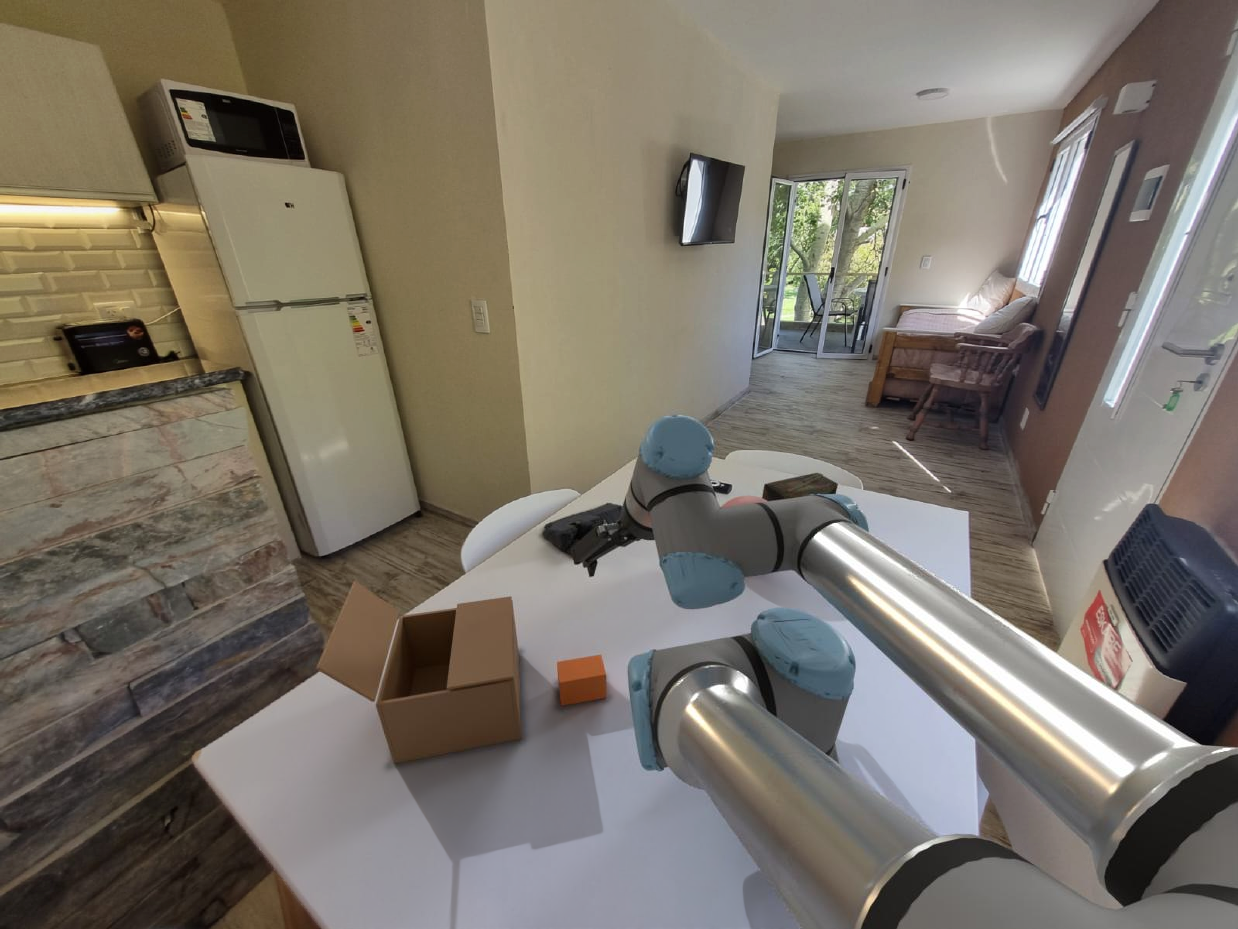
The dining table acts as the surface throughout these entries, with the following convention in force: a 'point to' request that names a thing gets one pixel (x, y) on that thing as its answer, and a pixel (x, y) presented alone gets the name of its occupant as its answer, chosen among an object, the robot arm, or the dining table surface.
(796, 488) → the brown wooden block
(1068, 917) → the robot arm
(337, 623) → the flap
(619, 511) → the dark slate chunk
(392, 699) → the box
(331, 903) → the dining table surface
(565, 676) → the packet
